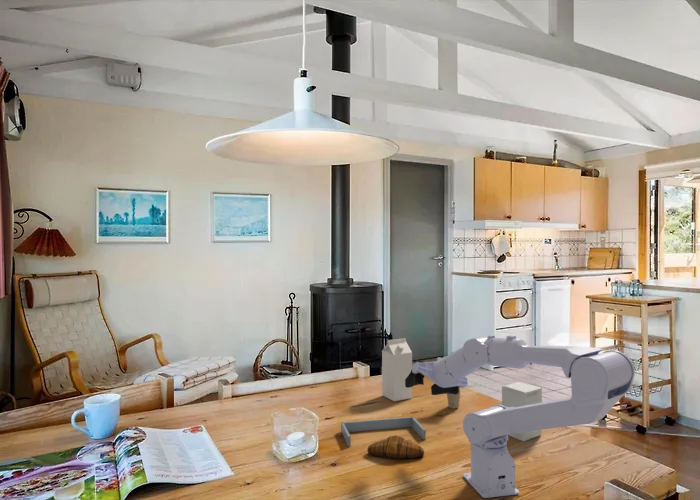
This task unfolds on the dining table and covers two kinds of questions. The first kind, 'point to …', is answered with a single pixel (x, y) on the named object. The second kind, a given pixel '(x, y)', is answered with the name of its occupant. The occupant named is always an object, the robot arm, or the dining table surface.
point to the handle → (453, 399)
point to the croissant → (395, 448)
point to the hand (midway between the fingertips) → (419, 387)
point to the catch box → (381, 426)
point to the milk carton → (396, 370)
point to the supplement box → (521, 403)
